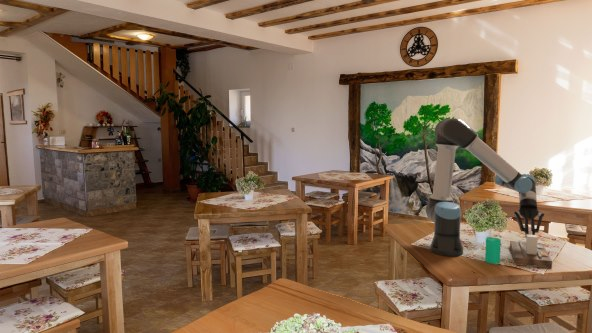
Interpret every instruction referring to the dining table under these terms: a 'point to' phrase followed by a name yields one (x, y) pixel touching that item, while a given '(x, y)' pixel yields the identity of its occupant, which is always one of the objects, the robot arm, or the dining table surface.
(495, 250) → the candle
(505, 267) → the dining table surface
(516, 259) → the switch board
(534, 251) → the switch tab
